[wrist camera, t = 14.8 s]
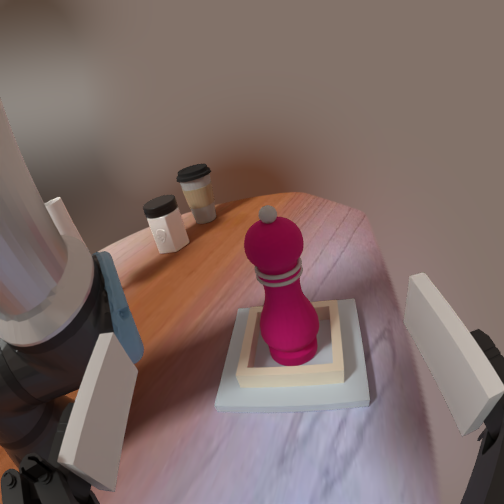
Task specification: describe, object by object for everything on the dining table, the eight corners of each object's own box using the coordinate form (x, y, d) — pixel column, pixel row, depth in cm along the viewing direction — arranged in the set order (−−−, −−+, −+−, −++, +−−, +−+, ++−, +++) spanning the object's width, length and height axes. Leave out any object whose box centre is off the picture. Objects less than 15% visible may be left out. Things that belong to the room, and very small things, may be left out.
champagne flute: (109, 312, 58) (57, 203, 46) (82, 319, 58) (29, 215, 46) (114, 293, 64) (69, 191, 52) (89, 300, 64) (43, 202, 52)
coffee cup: (217, 208, 93) (204, 160, 86) (226, 218, 85) (213, 166, 78) (187, 219, 91) (172, 171, 84) (193, 230, 83) (177, 177, 76)
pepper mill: (260, 339, 43) (223, 204, 33) (309, 323, 44) (288, 186, 34) (275, 377, 37) (237, 231, 27) (330, 357, 37) (316, 208, 28)
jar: (152, 255, 76) (135, 211, 70) (163, 239, 83) (149, 198, 77) (184, 251, 74) (169, 205, 68) (194, 235, 81) (180, 191, 75)
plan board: (217, 411, 35) (207, 394, 33) (240, 315, 51) (234, 296, 49) (368, 406, 31) (371, 387, 29) (354, 305, 47) (354, 285, 45)
